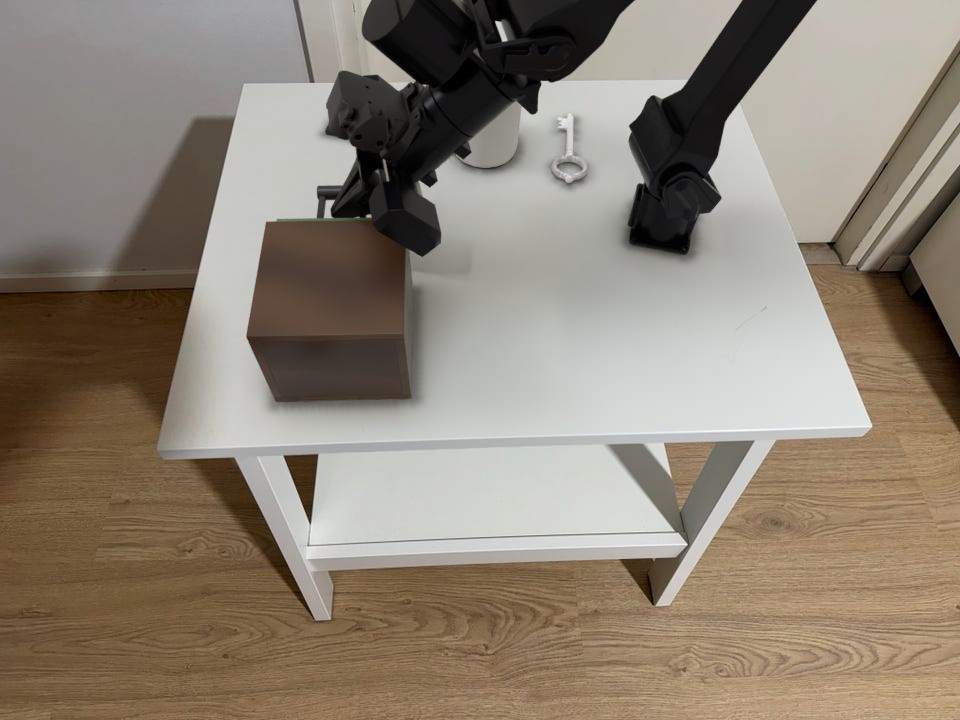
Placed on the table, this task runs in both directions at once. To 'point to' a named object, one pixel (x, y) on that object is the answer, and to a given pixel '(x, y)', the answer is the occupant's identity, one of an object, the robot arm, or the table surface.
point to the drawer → (325, 194)
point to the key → (569, 152)
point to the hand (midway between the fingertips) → (334, 215)
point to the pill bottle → (496, 135)
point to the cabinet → (332, 312)
